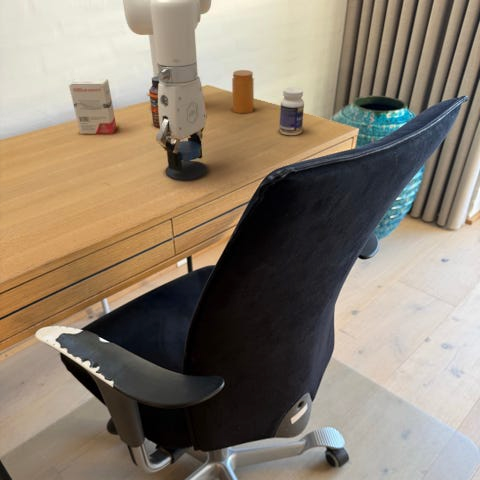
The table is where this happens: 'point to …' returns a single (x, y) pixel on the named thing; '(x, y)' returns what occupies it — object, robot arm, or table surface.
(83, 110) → the ink box
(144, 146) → the table surface
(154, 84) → the supplement bottle
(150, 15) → the robot arm
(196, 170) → the coaster
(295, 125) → the pill bottle
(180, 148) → the jar lid
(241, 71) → the jar
